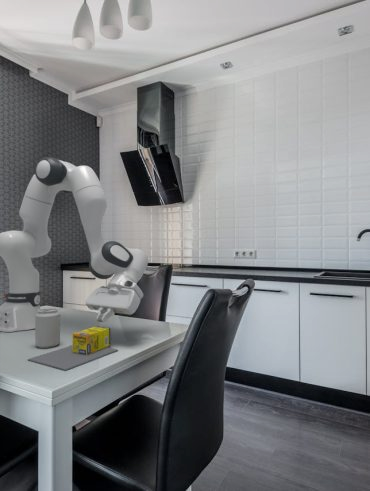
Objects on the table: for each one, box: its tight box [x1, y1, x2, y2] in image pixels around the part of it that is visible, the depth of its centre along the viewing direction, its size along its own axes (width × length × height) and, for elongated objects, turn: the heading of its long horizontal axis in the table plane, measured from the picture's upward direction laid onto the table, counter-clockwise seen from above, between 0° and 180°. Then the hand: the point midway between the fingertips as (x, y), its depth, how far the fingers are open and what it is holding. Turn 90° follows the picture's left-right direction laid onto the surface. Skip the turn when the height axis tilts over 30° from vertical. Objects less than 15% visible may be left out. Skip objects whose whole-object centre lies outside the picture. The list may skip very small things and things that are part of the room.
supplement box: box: [72, 325, 112, 355], centre depth 105 cm, size 6×6×11 cm
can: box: [34, 307, 61, 349], centre depth 111 cm, size 8×8×12 cm
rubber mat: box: [27, 344, 119, 372], centre depth 100 cm, size 20×16×1 cm
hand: (100, 321), depth 109 cm, fingers closed
